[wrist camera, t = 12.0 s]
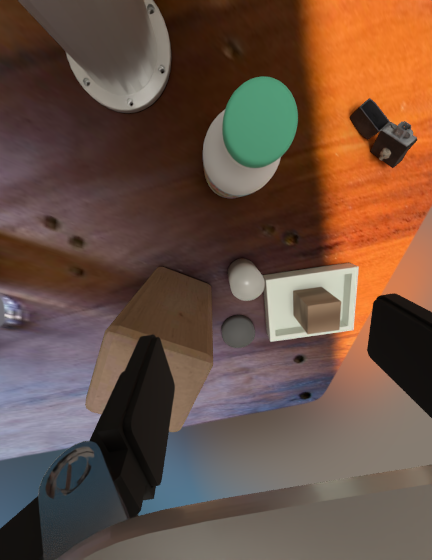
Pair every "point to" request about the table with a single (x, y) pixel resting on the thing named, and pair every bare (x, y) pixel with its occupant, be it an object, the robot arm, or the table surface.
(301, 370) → the table surface
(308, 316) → the walnut block
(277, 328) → the tray
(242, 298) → the white rounded cylinder
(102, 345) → the wooden block
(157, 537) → the robot arm
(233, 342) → the gray rounded object
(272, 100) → the milk bottle
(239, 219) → the table surface
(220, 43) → the table surface
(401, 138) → the lighter
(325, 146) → the table surface
